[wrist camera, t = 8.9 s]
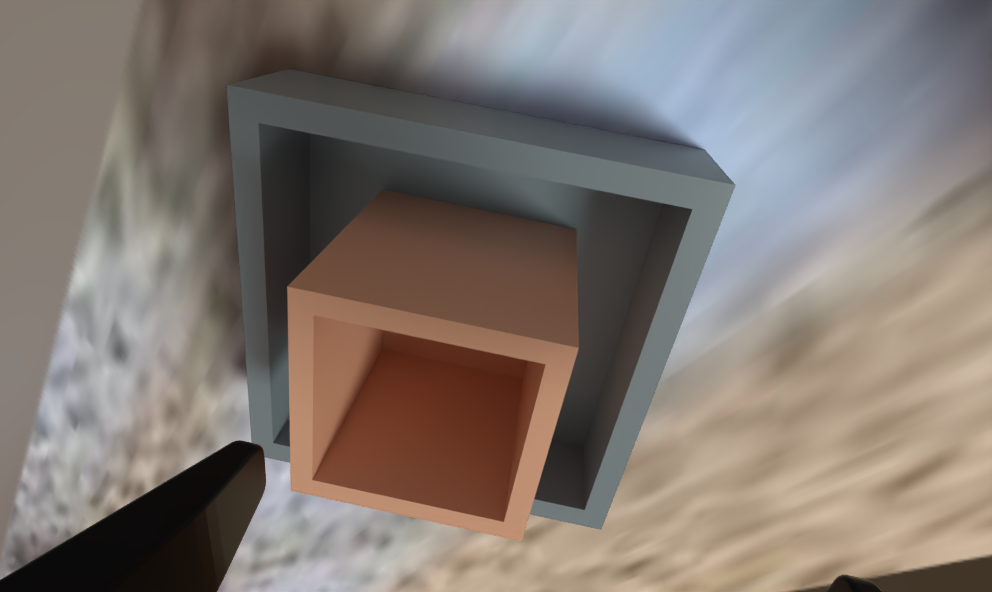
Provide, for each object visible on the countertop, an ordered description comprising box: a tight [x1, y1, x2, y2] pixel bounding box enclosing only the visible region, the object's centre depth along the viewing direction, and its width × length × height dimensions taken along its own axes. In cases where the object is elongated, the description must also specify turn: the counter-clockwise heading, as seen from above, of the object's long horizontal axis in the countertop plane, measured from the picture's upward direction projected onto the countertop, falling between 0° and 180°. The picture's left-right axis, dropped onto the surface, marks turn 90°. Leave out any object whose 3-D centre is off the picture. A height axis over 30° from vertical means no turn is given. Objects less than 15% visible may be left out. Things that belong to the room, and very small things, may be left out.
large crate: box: [226, 69, 735, 529], centre depth 19 cm, size 13×13×4 cm
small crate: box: [287, 190, 579, 541], centre depth 17 cm, size 6×6×7 cm
